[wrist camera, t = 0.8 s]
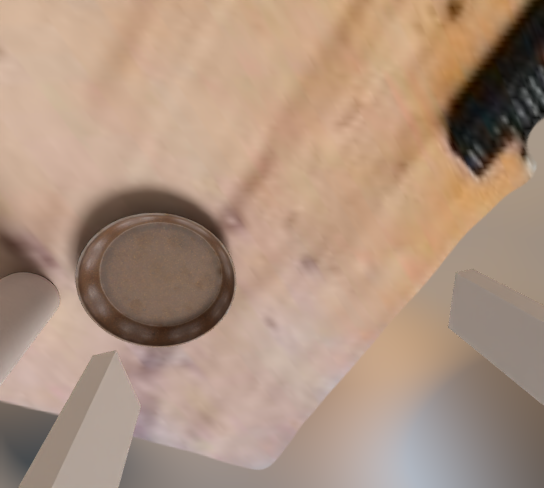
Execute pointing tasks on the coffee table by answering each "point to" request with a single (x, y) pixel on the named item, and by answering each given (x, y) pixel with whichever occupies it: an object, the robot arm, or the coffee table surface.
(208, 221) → the coffee table surface
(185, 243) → the plant saucer
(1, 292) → the coffee cup
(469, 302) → the robot arm
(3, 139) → the coffee table surface
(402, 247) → the coffee table surface
